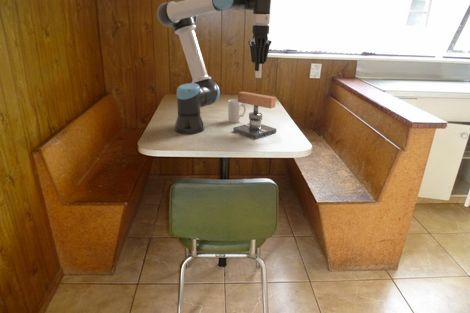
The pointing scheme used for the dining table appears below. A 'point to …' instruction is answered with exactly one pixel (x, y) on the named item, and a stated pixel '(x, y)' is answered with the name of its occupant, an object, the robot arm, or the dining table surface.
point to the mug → (234, 110)
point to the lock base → (256, 132)
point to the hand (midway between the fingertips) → (258, 77)
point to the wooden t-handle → (256, 103)
